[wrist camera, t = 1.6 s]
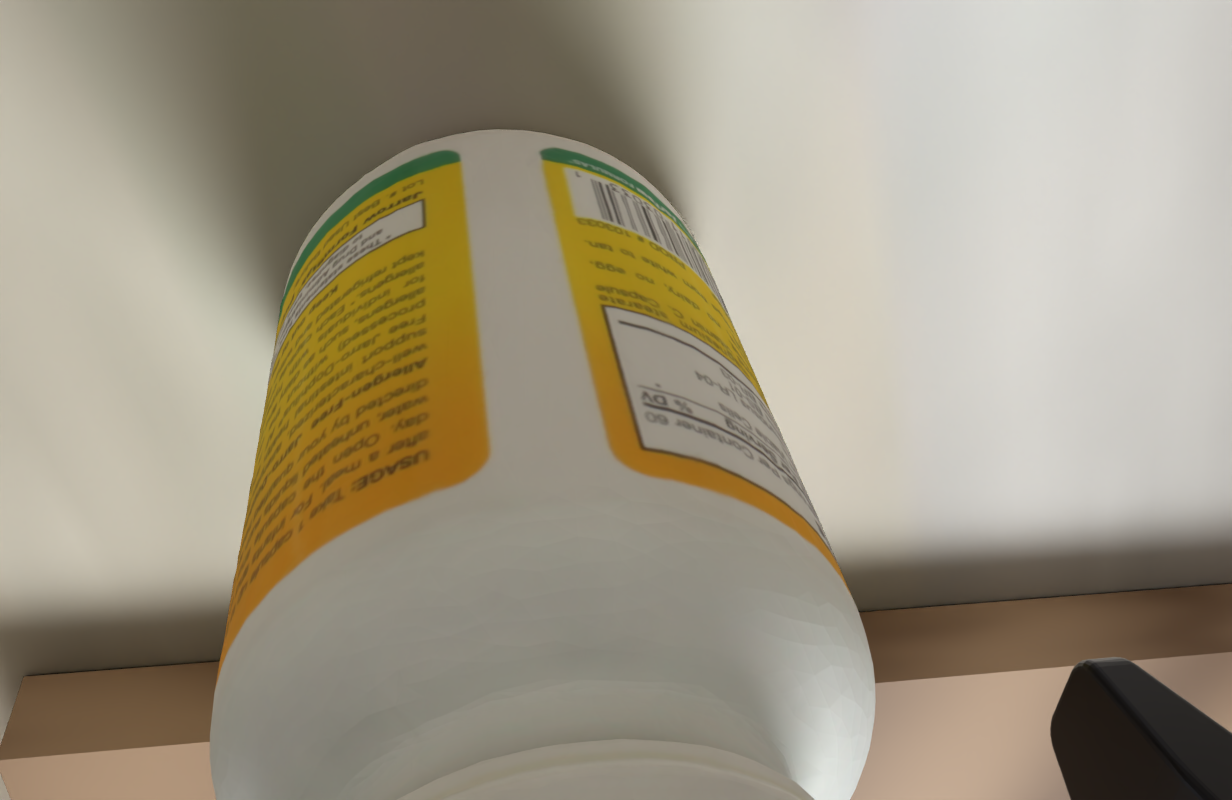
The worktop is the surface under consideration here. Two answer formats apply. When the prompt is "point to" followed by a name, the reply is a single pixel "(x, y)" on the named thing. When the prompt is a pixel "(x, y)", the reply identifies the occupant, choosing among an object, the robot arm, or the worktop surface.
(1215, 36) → the worktop surface
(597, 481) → the supplement bottle
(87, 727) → the light tan board
